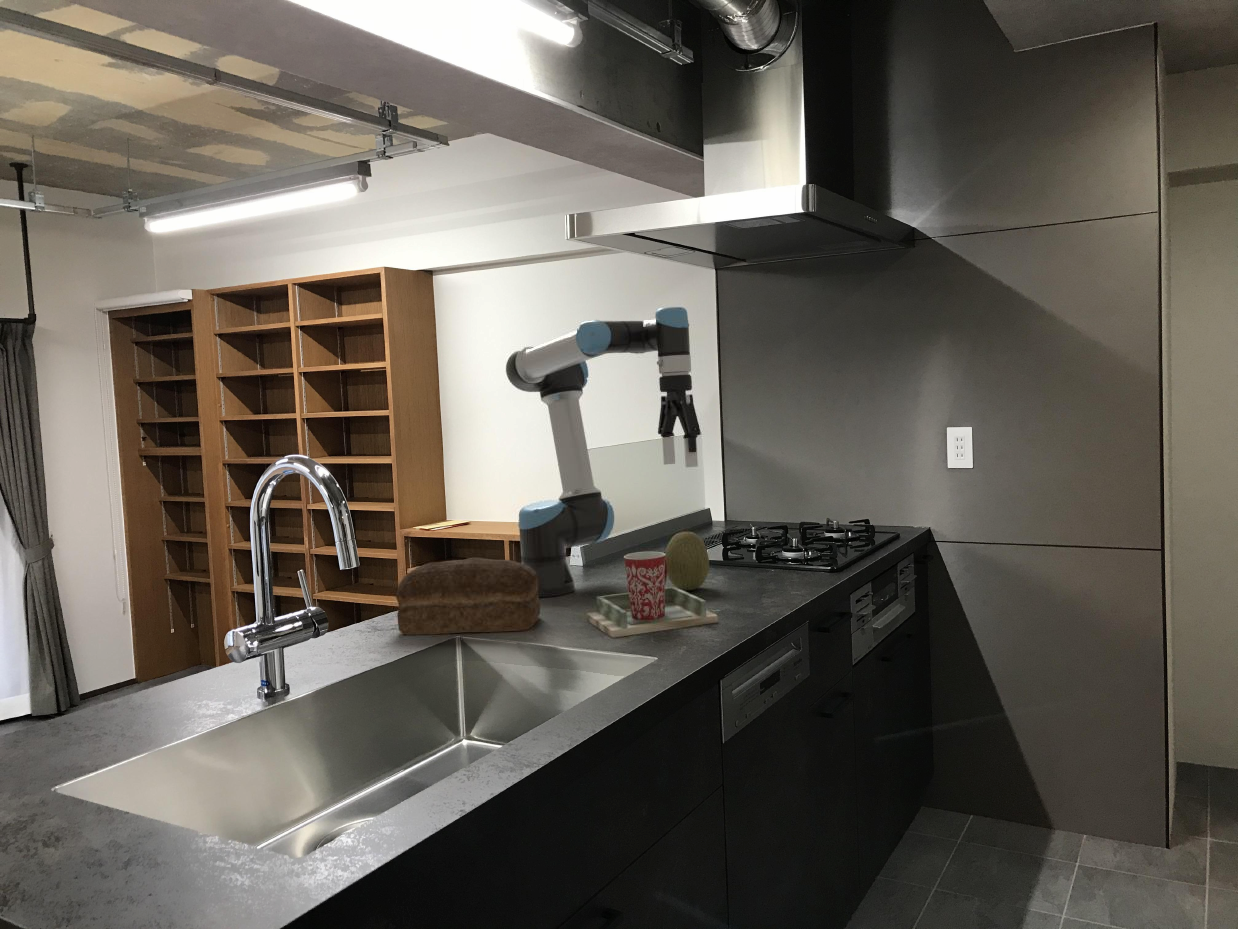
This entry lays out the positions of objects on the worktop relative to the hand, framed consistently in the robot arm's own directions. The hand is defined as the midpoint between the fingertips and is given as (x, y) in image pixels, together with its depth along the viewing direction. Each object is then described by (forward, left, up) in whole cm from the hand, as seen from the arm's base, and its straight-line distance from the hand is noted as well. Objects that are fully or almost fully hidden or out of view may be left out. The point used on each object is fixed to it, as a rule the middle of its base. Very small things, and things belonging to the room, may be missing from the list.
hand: (680, 465), depth 223 cm
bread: (-6, -51, -33) cm, 61 cm away
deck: (+12, -14, -33) cm, 38 cm away
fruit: (-14, +6, -33) cm, 36 cm away
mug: (+13, -14, -31) cm, 37 cm away
